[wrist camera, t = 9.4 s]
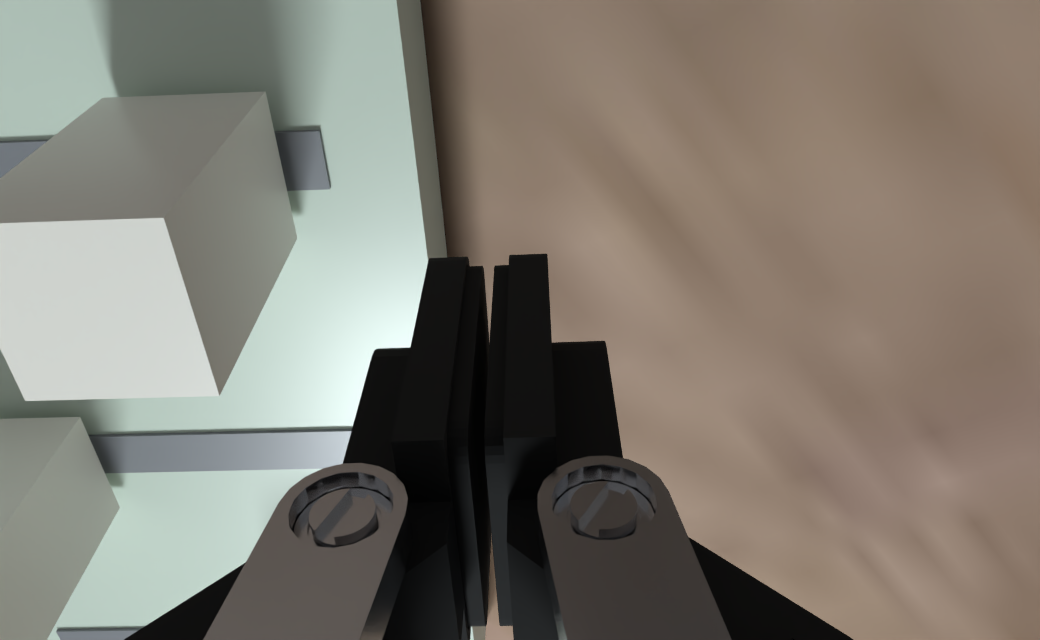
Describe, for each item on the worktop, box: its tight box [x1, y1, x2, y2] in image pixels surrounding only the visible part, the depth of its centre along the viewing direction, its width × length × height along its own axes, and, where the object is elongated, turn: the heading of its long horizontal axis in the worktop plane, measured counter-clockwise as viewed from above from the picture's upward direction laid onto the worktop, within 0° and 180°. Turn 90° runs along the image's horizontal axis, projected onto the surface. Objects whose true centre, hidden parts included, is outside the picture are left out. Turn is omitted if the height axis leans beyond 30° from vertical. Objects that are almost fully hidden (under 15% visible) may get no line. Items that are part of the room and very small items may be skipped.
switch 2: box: [0, 91, 297, 401], centre depth 14 cm, size 3×3×5 cm
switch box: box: [0, 0, 486, 640], centre depth 22 cm, size 18×22×3 cm
